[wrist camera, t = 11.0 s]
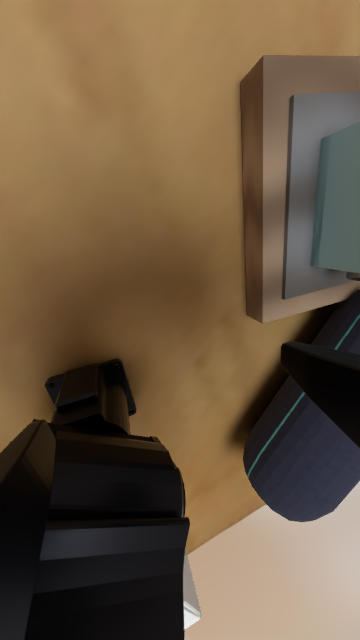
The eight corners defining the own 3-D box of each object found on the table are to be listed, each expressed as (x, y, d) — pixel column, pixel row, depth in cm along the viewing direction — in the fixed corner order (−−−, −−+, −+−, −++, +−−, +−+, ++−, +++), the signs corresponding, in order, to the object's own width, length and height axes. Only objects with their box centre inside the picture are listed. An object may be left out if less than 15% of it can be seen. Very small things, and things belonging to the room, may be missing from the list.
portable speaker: (264, 449, 32) (329, 529, 24) (218, 449, 27) (281, 552, 19) (371, 301, 28) (497, 338, 19) (340, 266, 22) (495, 296, 14)
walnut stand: (358, 284, 26) (387, 289, 23) (247, 314, 23) (265, 325, 20) (396, 79, 19) (444, 52, 16) (240, 82, 15) (267, 50, 13)
